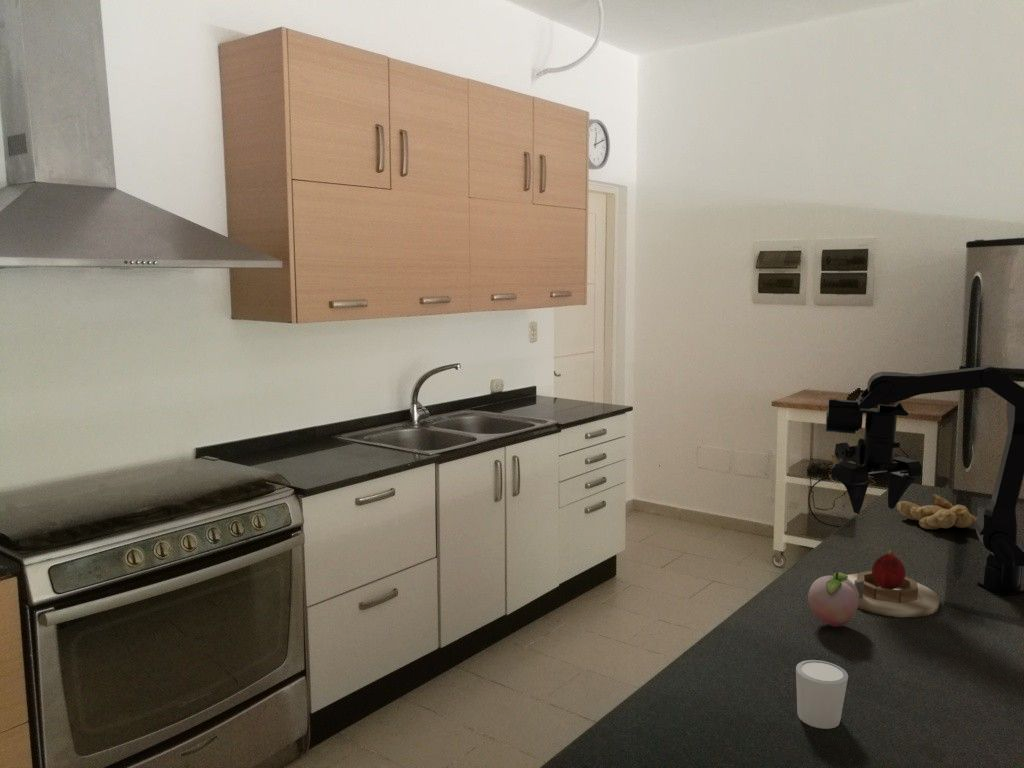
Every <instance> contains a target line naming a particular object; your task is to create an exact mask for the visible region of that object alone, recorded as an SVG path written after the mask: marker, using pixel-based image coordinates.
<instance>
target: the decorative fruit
mask: <svg viewBox="0 0 1024 768" xmlns="http://www.w3.org/2000/svg"><path fill="white" fill-rule="evenodd" d="M847 575H848V574H846V573H843V572H839V571H837V572H834V573H833V574H832V575H824V576H821V577H819V578H817V579H815V581H813V583H811V586H810V588H809V590H808V594H807V595H808V596H807V600H808V605H809V607H810V609H811V611H812V612H813V613H814V614H815V616H816V617H817V618H818V619H820V620H821V621H822V622H823V623H825V624H827V625H829V626H831V627H833V628H837V627H841V626H844V625H847V624H848V623H849V622H851V621H852V620H853V619H854V618H855V616H856V615H857V611H858V609H859V608H858V603H859V592H858V590H857V588H856V586H855V585H854V584H853V583H852V582H851V581H850V580H848V579H847V578H848V576H847Z"/></svg>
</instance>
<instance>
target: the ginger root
mask: <svg viewBox="0 0 1024 768" xmlns="http://www.w3.org/2000/svg"><path fill="white" fill-rule="evenodd" d="M933 497H934V498H935V499H934V500H935V502H934V504H935V505H934V504H933V505H932V504H931V505H930V504H928V505H923V506H922V505H921V506H920V505H918V504H916V503H914V502H910V501H905V500H902V501H901V500H900V501H898V503H897V504H896V506H895V508H896V509H897V511H898V512H899V514H901V515H903V516H905V517H907V518H910V519H913V520H916V521H919V522H918V524H919V526H920V527H921V528H923V529H926V530H929V529H931V530H930V531H933V529H934V530H938V529H941V528H942V529H950V528H952V527H956V528H959V529H960V528H961V529H965V528H969V527H970V526H971V525H973V523H974V522H975V521H976V519H977V515H973V514H971V513H970V510H969V509H968V508H967V506H965V505H962V504H955V505H953V504H952V503H951V502H950V501H949V500H947V499H945V498H944V497H941V495H938V494H937V493H935V494H933Z"/></svg>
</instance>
